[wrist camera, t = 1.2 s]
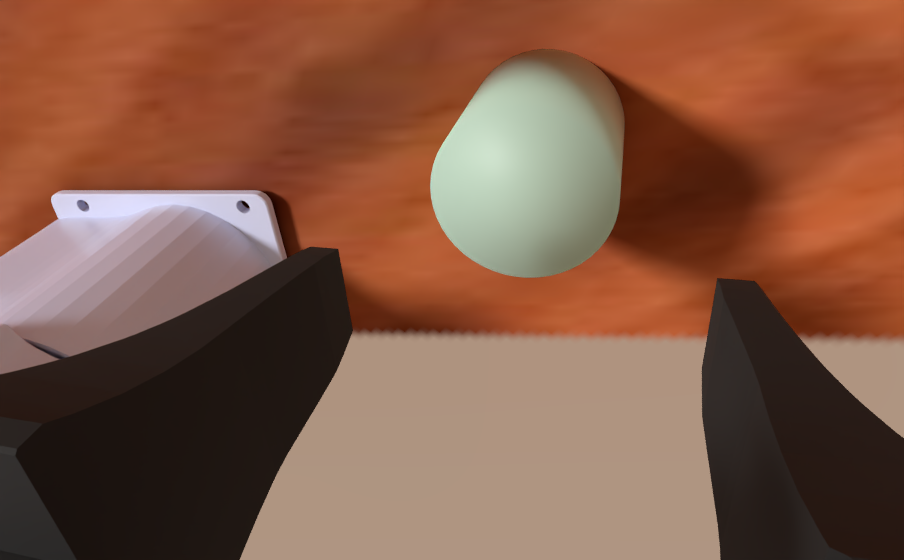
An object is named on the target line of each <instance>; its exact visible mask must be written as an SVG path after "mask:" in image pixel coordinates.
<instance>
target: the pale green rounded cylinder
mask: <svg viewBox="0 0 904 560" xmlns="http://www.w3.org/2000/svg"><path fill="white" fill-rule="evenodd" d="M624 131H625V119H624V111H623V106H622V103H621V100H620V97H619V95H618V93H617V91H616V89H615V87H614V85H613V84H612V82H611V81H610V80H609V78H608V77H607V76H606V75H605V74H604V73H603V72H602V71H601V70H600V69H599V68H598V67H597V66H595V65H594V64H593V63H591V62H590V61H588V60H586V59H585V58H583V57H580V56H578V55H576V54H573V53H570V52H566V51H562V50H555V49H539V50H531V51H528V52H524V53H521V54H518V55H516V56H513V57H511V58H509V59H508V60H506V61H504V62H503V63H501V64H500V65H499V66H497V67H496V68H495V69H494V70H493V71H492V72H491V73H490V74H489V75H488V76H487V77H486V79H485V80H484V81H483V83H482V84H481V86H480V87H479V89H478V90H477V92H476V93H475V95H474V96H473V98H472V99H471V101H470V103H469V104H468V106H467V107H466V109H465V110H464V112H463V113H462V115H461V116H460V118H459V119H458V121H457V123H456V124H455V126H454V127H453V129H452V130H451V132H450V133H449V135H448V136H447V138H446V140H445V141H444V143H443V144H442V146H441V148H440V150H439V152H438V153H437V156H436V159H435V161H434V164H433V169H432V173H431V184H430V188H431V199H432V204H433V208H434V211H435V214H436V217H437V219H438V221H439V223H440V225H441V227H442V229H443V230H444V232H445V234H446V235H447V237H448V238H449V239H450V240H451V241H452V243H453V244H454V245H455V246H456V247H457V248H458V249H459V250H460V251H461V252H462V253H463V254H465V255H466V256H467V257H469V258H470V259H472V260H473V261H475V262H476V263H478V264H480V265H482V266H483V267H486V268H488V269H490V270H492V271H495V272H499V273H502V274H505V275H510V276H515V277H526V278H529V277H544V276H551V275H555V274H558V273H562V272H564V271H567V270H570V269H572V268H574V267H576V266H578V265H579V264H581V263H583V262H584V261H585V260H587V259H588V258H590V257H591V256H592V255H593V254H594V253H595V252H596V251H597V250H598V249H599V248H600V247H601V246H602V245H603V243H604V242H605V241H606V239H607V238H608V236H609V234H610V233H611V231H612V229H613V227H614V224H615V222H616V219H617V215H618V211H619V204H620V192H621V177H622V162H623V146H624Z"/></svg>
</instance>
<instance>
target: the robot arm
mask: <svg viewBox="0 0 904 560" xmlns="http://www.w3.org/2000/svg"><path fill="white" fill-rule="evenodd" d="M84 201H85V202H86V203H87V204H88V205H89V206H88V205H86V203H85V202H84ZM242 201H245V202H246V203H248V205H249V207H250V209H249V208H246V207H245V206H244V205H243V204H242ZM51 202H52V205H53V208H54V210H55V212H56V214H57V216H58V220H56V221H55V222H53V223H52V224H50V225H49V226H47V227H45V228H44V229H42V230H41V231H39V232H38V233H36V234H35V235H33V236H32V237H30V238H29V239H27V240H26V241H24V242H23V243H21V244H20V245H18V246H16V247H15V248H13V249H12V250H10V251H9V252H7V253H6V254H4V255H3V256H1V257H0V560H239V559H240V557H241V555H242V552H243V550H244V547H245V545H246V543H247V540H248V538H249V535H250V533H251V530H252V528H253V526H254V524H255V521H256V519H257V516H258V514H259V512H260V509H261V507H262V505H263V503H264V500H265V499H266V496H267V494H268V492H269V490H270V487H271V485H272V483H273V481H274V479H275V477H276V474H277V472H278V471H279V469H280V466H281V465H282V463H283V461H284V459H285V457H286V456H287V454H288V452H289V451H290V449H291V447H292V446H293V444H294V442H295V440H296V439H297V437H298V436H299V434H300V432H301V431H302V429H303V427H304V426H305V424H306V422H307V420H308V419H309V417H310V415H311V414H312V412H313V410H314V409H315V407H316V405H317V404H318V402H319V400H320V399H321V397H322V395H323V394H324V392H325V390H326V388H327V387H328V385H329V383H330V382H331V380H332V378H333V376H334V374H335V373H336V371H337V368H338V366H339V364H340V362H341V359H342V357H343V355H344V352H345V349H346V347H347V344H348V342H349V339H350V337H351V334H352V331H353V329H352V323H351V318H350V312H349V307H348V301H347V296H346V290H345V285H344V279H343V274H342V268H341V263H340V257H339V252H338V249H332V248H319V247H309V248H307V249H304V250H302V251H300V252H298V253H296V254H294V255H292V256H290V257H288V258H287V256H286V253H285V249H284V245H283V242H282V238H281V234H280V230H279V227H278V223H277V219H276V216H275V212H274V208H273V205H272V202H271V200H270V198H269V197H268V196H267V195H266V194H265V193H263V192H262V191H257V190H62V191H59V192H57V193H56V194H54V195H53V196H52V199H51ZM702 417H703V424H704V431H705V439H706V446H707V454H708V460H709V467H710V473H711V481H712V488H713V494H714V501H715V508H716V515H717V522H718V531H719V542H720V554H721V555H720V557H721V560H904V438H902V437H901V436H900V435H899V434H897V433H896V432H895V431H894V430H892V429H891V428H890V427H889V426H888V425H886V424H885V423H884V422H883V421H882V420H881V419H879V418H878V417H877V416H876V415H875V414H873V413H872V412H871V411H870V410H869V409H868V408H867V407H865V406H864V405H863V404H862V403H861V402H860V401H859V400H858V399H856V398H855V397H854V396H853V395H852V394H851V393H850V392H849V391H848V390H847V389H846V388H845V387H844V386H843V385H842V384H841V383H840V382H839V381H838V380H837V379H836V378H835V377H834V376H833V375H832V374H831V373H830V372H829V371H828V370H827V369H826V368H825V367H824V366H823V365H822V363H821V362H820V361H819V360H818V359H817V358H816V357H815V356H814V354H813V353H812V352H811V351H810V350H809V349H808V347H807V346H806V345H805V344H804V343H803V342H802V340H801V339H800V338H799V337H798V336H797V334H796V333H795V332H794V331H793V330H792V328H791V327H790V326H789V325H788V323H787V322H786V321H785V319H784V318H783V317H782V316H781V314H780V313H779V312H778V310H777V309H776V308H775V306H774V305H773V304H772V302H771V301H770V300H769V298H768V297H767V296H766V294H765V293H764V292H763V290H762V289H761V288H760V287H759V285H758V284H757V283H756V282H755V281H746V280H733V279H720V278H717V284H716V290H715V295H714V301H713V307H712V313H711V319H710V324H709V330H708V336H707V342H706V348H705V353H704V359H703V365H702Z"/></svg>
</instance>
